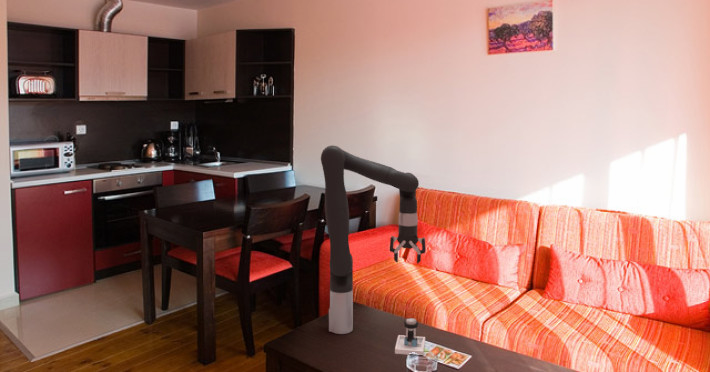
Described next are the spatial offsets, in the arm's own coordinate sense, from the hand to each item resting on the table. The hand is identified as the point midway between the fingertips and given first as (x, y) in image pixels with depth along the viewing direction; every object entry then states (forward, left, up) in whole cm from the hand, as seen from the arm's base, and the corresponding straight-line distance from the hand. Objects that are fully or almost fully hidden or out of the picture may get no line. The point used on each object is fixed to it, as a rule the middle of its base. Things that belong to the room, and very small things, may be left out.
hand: (407, 262), depth 217 cm
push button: (+4, -16, -28) cm, 32 cm away
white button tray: (+3, -17, -28) cm, 33 cm away
